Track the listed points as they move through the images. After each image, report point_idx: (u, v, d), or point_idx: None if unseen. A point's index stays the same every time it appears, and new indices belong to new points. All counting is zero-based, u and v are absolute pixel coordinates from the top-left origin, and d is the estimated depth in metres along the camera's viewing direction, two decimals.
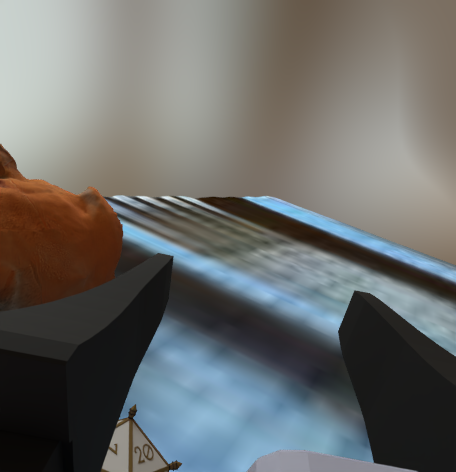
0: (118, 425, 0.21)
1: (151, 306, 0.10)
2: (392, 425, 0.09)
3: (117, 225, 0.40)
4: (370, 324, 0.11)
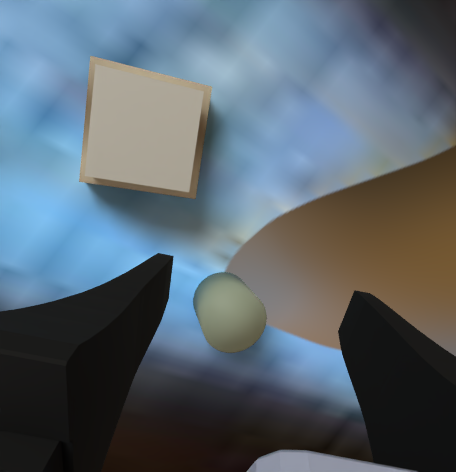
0: None
1: (151, 306, 0.10)
2: (392, 425, 0.09)
3: None
4: (370, 324, 0.11)
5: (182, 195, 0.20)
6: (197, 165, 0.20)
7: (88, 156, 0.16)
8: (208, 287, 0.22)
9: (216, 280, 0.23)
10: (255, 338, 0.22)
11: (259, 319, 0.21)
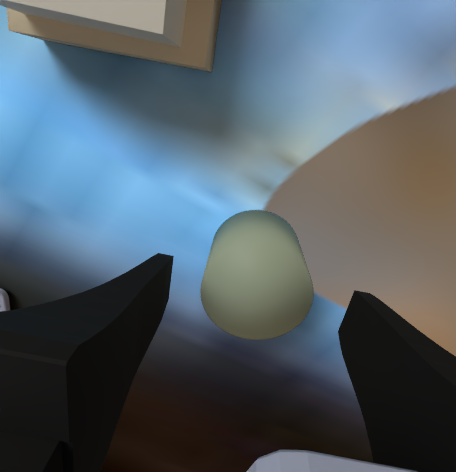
0: None
1: (151, 306, 0.10)
2: (392, 425, 0.09)
3: None
4: (370, 324, 0.11)
5: (181, 60, 0.11)
6: None
7: None
8: (226, 231, 0.14)
9: (242, 221, 0.14)
10: (290, 325, 0.13)
11: (299, 297, 0.12)
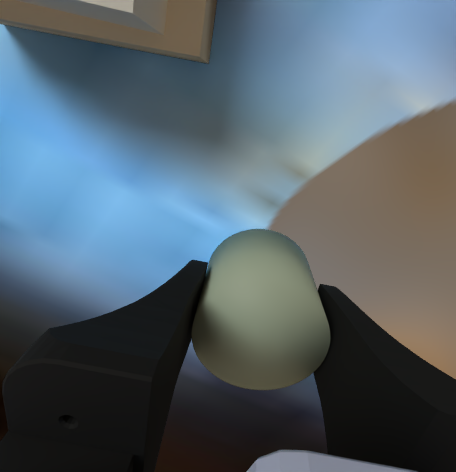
0: None
1: (192, 314, 0.10)
2: (343, 416, 0.09)
3: None
4: (330, 316, 0.11)
5: (169, 46, 0.09)
6: None
7: None
8: (223, 257, 0.12)
9: (242, 245, 0.12)
10: (300, 374, 0.11)
11: (313, 343, 0.10)
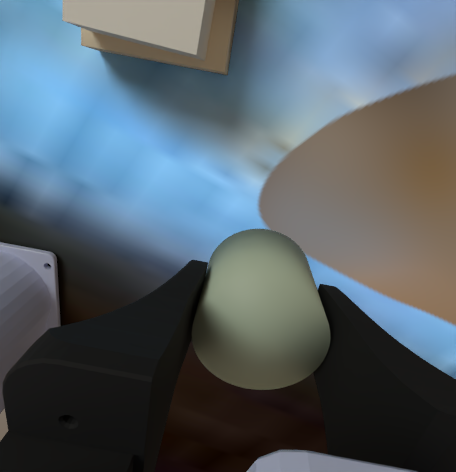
0: None
1: (191, 314, 0.10)
2: (343, 416, 0.09)
3: None
4: (330, 316, 0.11)
5: (206, 66, 0.15)
6: (228, 19, 0.14)
7: None
8: (223, 257, 0.12)
9: (242, 245, 0.12)
10: (301, 374, 0.11)
11: (313, 342, 0.10)
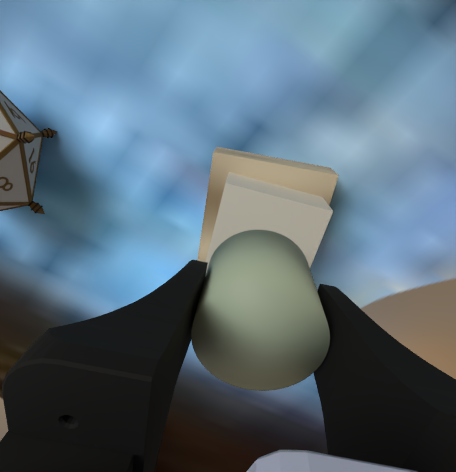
0: None
1: (191, 314, 0.10)
2: (344, 416, 0.09)
3: None
4: (331, 316, 0.11)
5: None
6: None
7: (207, 261, 0.17)
8: (222, 258, 0.12)
9: (240, 246, 0.12)
10: (301, 374, 0.11)
11: (313, 342, 0.10)
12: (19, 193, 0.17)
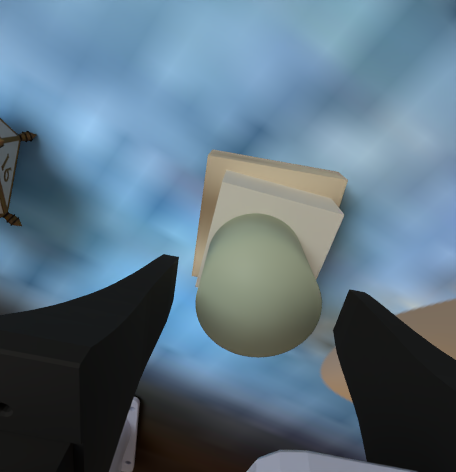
0: None
1: (157, 307, 0.10)
2: (385, 423, 0.09)
3: None
4: (364, 323, 0.11)
5: None
6: None
7: (201, 269, 0.15)
8: (220, 239, 0.13)
9: (236, 227, 0.13)
10: (299, 338, 0.12)
11: (307, 306, 0.11)
12: None
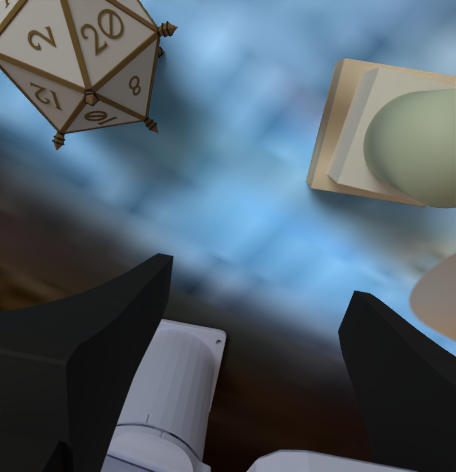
0: None
1: (151, 306, 0.10)
2: (392, 425, 0.09)
3: None
4: (370, 324, 0.11)
5: (411, 202, 0.19)
6: None
7: (345, 164, 0.16)
8: (400, 105, 0.13)
9: (415, 94, 0.14)
10: None
11: None
12: (141, 103, 0.16)
